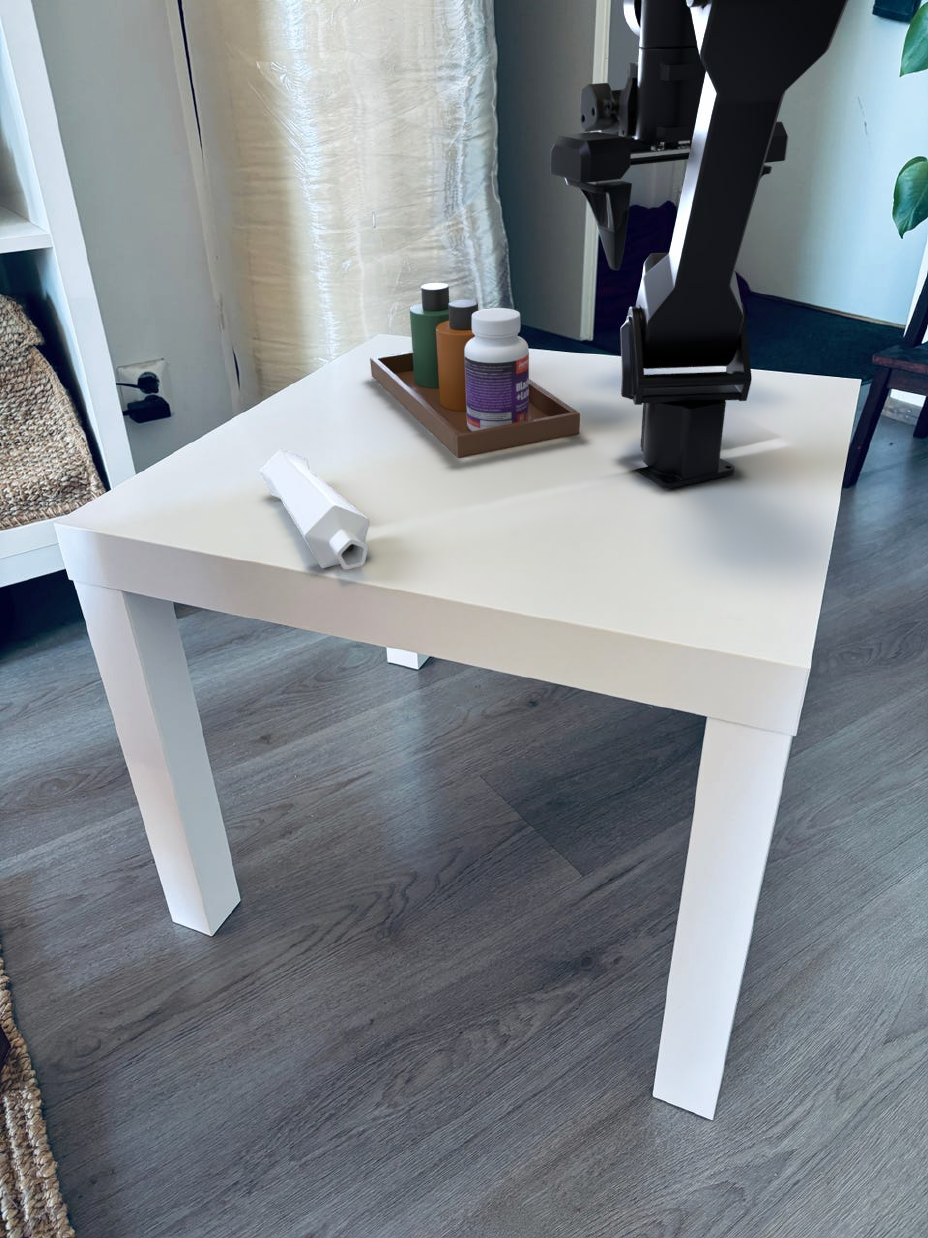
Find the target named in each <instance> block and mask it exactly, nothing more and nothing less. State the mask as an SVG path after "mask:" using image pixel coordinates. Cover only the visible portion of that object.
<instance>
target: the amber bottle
mask: <svg viewBox="0 0 928 1238" xmlns="http://www.w3.org/2000/svg"><path fill="white" fill-rule="evenodd" d="M449 302H450V303H449V305H448V306H449V321H446V322H443V323H440V324H439V325H437V327H436V337H437V355H438V374H439V392H440V404H441V406H443V407H444V408H446V409H449V410H454V411H467V410H466V380H465V346H466V344H467V342H468V341H469V340H470V339H472V338H474V337H475V334H473V332H472V314H473V313H474V312H476V311H479V303H478V301H476V300H472V299H457V300H453V301H449Z"/></svg>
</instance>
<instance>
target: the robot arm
mask: <svg viewBox="0 0 928 1238" xmlns="http://www.w3.org/2000/svg"><path fill="white" fill-rule="evenodd" d="M848 2H849V0H623V14H624V18H625V20H626V23H627V25H628V27H629V28H630V30H631V31H632V32H633V33H634V34H635V35H636V36H637V37H639V49H638V61H633V62H629V68H628V69H627V73H626V82H625V83H626V84H625V86H624V88H622V89H612V88H611V85H610V84H609V83H608V82H600V83H588V84H587V85H585V86H584V87H583V88H581V90H580V103H579V115H580V116H579V119H580V126H581V128H582V130H583V131H584V132H579V133H569V134H559V135H558V136H557V138H556V140H555V142H554V143H553V146H551V147H552V148H551V150H550V163H549V165H550V169H549V170H550V175H553V176H557V177H561V178H564V179H565V182H566V186H569V187H572V188H577V189H579V191H580V193H581V194H582V195H583V197H584V198H585V199H586V201H587V203H588V206H589V208H590V210H591V212H592V215H593V218H594V220H595V223H596V226H597V230H598V233H599V237H600V240H601V244H602V247H603V250H604V253H605V257H606V261H607V264H608V267H609V268H610V269H611V270H613V271H618V270H620V269H621V265H622V261H623V257H624V253H625V245H626V237H627V229H628V221H629V211H630V205H631V196H632V190H633V189H632V188H633V183H632V182H629V181H624V180H622V179H623V177H624V176H625V175H626V173H627V172H628V171H629V169H630V168H631V166H638V165H649V164H657V163H658V164H659V163H666V162H667V163H668V162H677V161H687V164H686V169H685V174H684V179H683V185H682V188H681V189H682V190H681V193H680V198H679V204H678V209H677V214H676V219H675V224H674V228H673V233H672V239H671V243H670V248H669V252H654V253H653V252H651V253H650V254H649V255H648V257H647V258H646V260H644V262H643V269H642V277H641V281H640V286H639V289H638V294H637V297H636V298H637V299H636V303H635V306H629V308H628V311H627V316H626V318H625V322H624V323H623V324H622V325H621V327H620V329H619V330H620V333H619V334H620V335H619V336H620V356H621V357H620V358H621V359H620V360H621V385H620V386H621V387H620V388H621V390H620V395H621V397H623V398H625V399H629V400H632V402H633V404H634V406H641V405H642V417H641V418H642V419H641V433H640V449H641V450H640V451H641V452H642V462H643V463H644V465H646V466H642V467H638V468H636V470H637V471H638V472H640V473H642V474H643V475H644V476H645V477H647V478H648V479H650V480H651V481H652V482H654V483H655V484H657V485H658V486H660V487H661V488H663V489H669V490H670V489H675V488H678V487H679V488H680V487H683V486H687V485H692V484H696V483H700V482H705V481H709V480H713V479H718V478H723V477H727V476H731V475H734V474H735V472H736V471H735V470H736V467H735V466H734V465H732V464H731V463H729V462H728V461H726V460H724V459H723V458H721V449H722V442H723V432H724V424H725V415H726V406H727V401H738V402H747V400H748V396H749V394H750V390H751V385H752V381H753V380H752V378H753V376H752V368H751V357H750V356H751V355H750V347H749V337H748V326H747V325H748V324H747V315H746V309H745V306H744V304H743V303H742V300H741V296H740V289H739V284H738V278H737V275H736V271H735V268H736V265H737V261H738V259H739V258H738V257H739V254H740V252H741V251H740V250H741V247H742V244H743V241H744V237H745V234H746V230H747V226H748V223H749V219H750V216H751V212H752V209H753V205H754V202H755V198H756V195H757V192H758V188H759V185H760V182H761V179H762V178H763V176H765V175H770V174H771V173H772V169H773V167H772V166H771V165H767V164H769V163H779V162H785V161H786V159H787V154H788V153H787V152H788V145H789V136H788V132H787V131H786V128H785V126H784V123H783V121H779V120H778V118H779V114H780V110H781V107H782V103H783V101H784V98H785V95H786V92H787V91H788V90H789V89H790V88H791V87H792V86H793V85H794V84H795V83H796V82H797V81H799V79H801V77H802V76H803V75H804V74H805V73H807V71H808V70H809V69H810V68H812V66H814V65H815V64H816V63H817V62H818V61H819V60H820V59H821V58H822V57H823V56H824V55H825V54H826V53H827V52H828V51H829V50H830V47H831V45H832V43H833V40H834V37H835V35H836V33H837V30H838V27H839V25H840V23H841V20H842V17H843V15H844V12H845V10H846V7H847V6H848ZM713 367H714V368H715V367H725V371H708V372H707V371H704V372H703V371H701V372H679V373H678V372H677V373H673V372H672V373H651V374H650V373H649V374H647V373H646V374H645V370H658V369H661V370H662V369H683V368H684V369H686V368H713Z"/></svg>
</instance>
